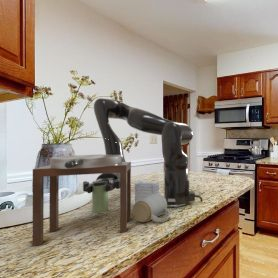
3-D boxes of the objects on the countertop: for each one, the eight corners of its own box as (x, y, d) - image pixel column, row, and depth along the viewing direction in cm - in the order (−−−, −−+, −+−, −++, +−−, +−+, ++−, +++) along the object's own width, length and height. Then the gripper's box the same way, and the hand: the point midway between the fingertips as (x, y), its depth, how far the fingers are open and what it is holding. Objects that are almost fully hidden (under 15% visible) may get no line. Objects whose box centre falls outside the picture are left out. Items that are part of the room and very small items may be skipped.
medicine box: (159, 202, 86) (159, 181, 86) (153, 205, 81) (153, 184, 81) (141, 201, 87) (141, 181, 87) (134, 205, 82) (134, 183, 82)
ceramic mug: (130, 222, 65) (130, 198, 65) (149, 213, 73) (149, 191, 73) (159, 226, 62) (159, 201, 62) (175, 216, 70) (175, 194, 70)
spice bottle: (109, 208, 74) (109, 180, 74) (106, 212, 70) (106, 182, 69) (94, 209, 72) (94, 181, 72) (90, 213, 68) (90, 183, 68)
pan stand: (131, 216, 71) (132, 153, 71) (120, 248, 50) (120, 159, 50) (56, 225, 63) (56, 155, 63) (4, 269, 42) (5, 163, 42)
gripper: (88, 171, 81) (70, 179, 65) (129, 169, 87) (123, 176, 71) (88, 191, 81) (70, 203, 65) (129, 187, 87) (123, 198, 71)
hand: (98, 189), depth 68 cm, fingers closed on spice bottle, 4 cm apart
